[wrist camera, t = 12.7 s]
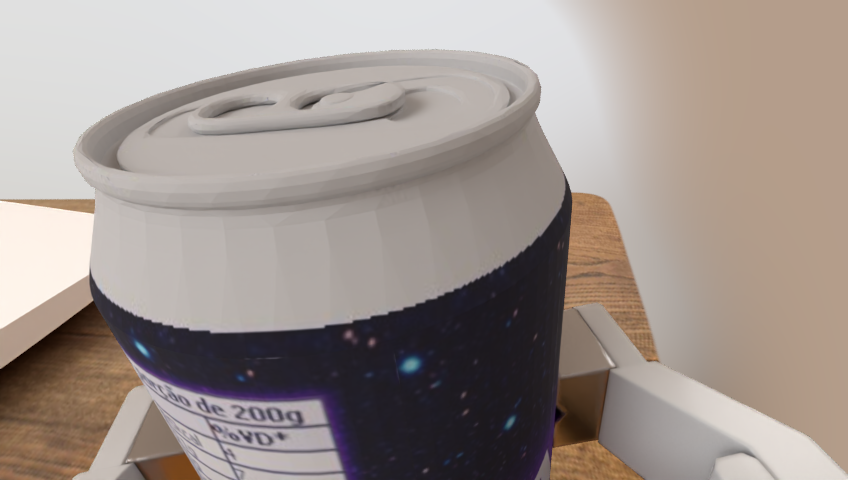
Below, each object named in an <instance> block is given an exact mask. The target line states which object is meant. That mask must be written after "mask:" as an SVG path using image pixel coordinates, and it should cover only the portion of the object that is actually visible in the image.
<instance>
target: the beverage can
mask: <svg viewBox="0 0 848 480" xmlns="http://www.w3.org/2000/svg"><path fill="white" fill-rule="evenodd" d="M540 94H541V86H540V83H539V79H538V77H537V74H536V73H534V72H533V70H531V69H530V68H529V67H528V66H527V65H525V64H523V63H520V62H518V61H516V60H513V59H510V58H507V57H503V56H498V55H492V54H487V53H481V52H472V51H471V52H470V51H455V50H454V51H453V50H438V49H432V50H391V51H379V52H365V53H353V54H343V55H335V56H327V57H320V58H312V59H304V60H298V61H292V62H287V63H281V64H275V65H270V66H265V67H259V68H254V69H248V70H245V71H240V72H236V73H231V74H227V75H223V76H219V77H214V78H210V79H206V80H202V81H199V82H195V83H193V84H189V85H186V86H182V87H179V88H176V89H172V90H169V91H166V92H163V93H159V94H157V95H154V96H151V97H149V98H146V99H144V100H141V101H139V102H136V103H134V104H132V105H129V106H127V107H125V108H122V109H120V110H118V111H115V112H113V113H112V114H110V115H108V116H106V117H105V118H103V119H101V120H100V121H98V122H97V123H95V124H94V125H92V126H91V127H89V128H88V129H87V130H86V131H85V132H84V133H83V134H82V135H81V136H80V137H79V139H78V141H77V143H76V145H75V147H74V149H73V154H74V161H75V166H76V167H77V169H78V170H79V172H80V173H81V174H82V176H83V178H84V179H85V181H86V182H87V183H88V184H89V185H91V186H92V187H94V188H95V213H94V224H93V234H92V244H91V255H90V268H89V285H90V290H91V295H92V298H93V300H94V302H95V305H96V306H97V308H98V310H99V311H100V313H101V315H102V316H103V318H104V320H105V321H106V323H107V325H108V326H109V328H110V329H111V331H112V333H113V334H114V336H115V338H116V339H117V341H118V343H119V344H120V346H121V348H122V349H123V351H124V353H125V354H126V356H127V358H128V359H129V361H130V362H131V364H132V366H133V367H134V369H135V371H136V372H137V374H138V376H139V377H140V379H141V381H142V382H143V384H144V386H145V387H146V389H147V391H148V392H149V394H150V395H151V397H152V399H153V400H154V402H155V404H156V405H157V407H158V409H159V410H160V412H161V414H162V415H163V417H164V419H165V420H166V422H167V424H168V425H169V427H170V428H171V430H172V432H173V433H174V435H175V437H176V438H177V440H178V442H179V443H180V445H181V447H182V448H183V450H184V452H185V453H186V455H187V457H188V458H189V460H190V461H191V463H192V465H193V466H194V468H195V470H196V471H197V473H198V475H199V476H200V478H201V480H550V469H551V457H552V444H553V432H554V420H555V408H556V396H557V383H558V371H559V359H560V347H561V335H562V322H563V310H564V298H565V286H566V274H567V261H568V249H569V237H570V225H571V213H572V195H571V190H570V187H569V184H568V181H567V179H566V176H565V174H564V172H563V170H562V168H561V166H560V164H559V162H558V160H557V158H556V156H555V154H554V153H553V151H552V148H551V147H550V145H549V143H548V141H547V139H546V137H545V135H544V133H543V131H542V129H541V126H540V124H539V122H538V119H537V117H536V114H535V111H536V109H537V108H538V105H539V103H540Z"/></svg>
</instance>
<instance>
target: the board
mask: <svg viewBox="0 0 848 480" xmlns="http://www.w3.org/2000/svg"><path fill="white" fill-rule="evenodd" d="M93 224H94V214H91V213H84V212H76V211H69V210H62V209H55V208H48V207H41V206H33V205H26V204H19V203H12V202H5V201H0V369H1V368H2V367H4V366H5V365H7V364H8V363H9V362H11V361H12V360H13V359H15V358H16V357H18V356H19V355H20V354H22V353H23V352H25V351H26V350H27V349H29V348H30V347H31V346H33V345H34V344H36V343H37V342H38V341H40V340H41V339H42V338H44V337H45V336H46V335H48V334H49V333H51V332H52V331H53V330H55V329H56V328H57V327H59V326H60V325H61V324H63V323H64V322H65V321H67V320H68V319H69V318H71V317H72V316H73V315H75V314H76V313H77V312H79V311H80V310H81V309H83V308H84V307H85V306H87V305H88V304H89V303H91V302H92V301H93V298H92V295H91V290H90V285H89V268H90V255H91V244H92V234H93Z"/></svg>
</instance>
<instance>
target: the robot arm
mask: <svg viewBox="0 0 848 480" xmlns="http://www.w3.org/2000/svg"><path fill="white" fill-rule="evenodd" d="M594 440H598V442H599V443H600V444H601V445H602V446H604V447H605V448H606V449H607V450H609V451H610V452H611V453H612V454H614V455H615V456H616V457H617V458H619V459H620V460H621V461H622V462H624V463H625V464H626V465H627V466H629V467H630V468H631V469H632V470H634V471H635V472H636V473H637V474H638V475H640V476H641V477H642V478H643V479H645V480H848V474H847V473H846V472H845V471H844V470H843V469H842V468H841V467H839V465H837V463H836V462H834V460H833V459H832V458H830V457H829V455H828V454H827V453H826V452H825V451H823V449H822V448H821V447H820V446H819V445H818V444H817V443H816V442H815V441H814V440H813V439H812V438H811V437H809V436H808V435H805V434H804V433H802V432H800V431H798V430H795V429H794V428H791V427H789V426H787V425H785V424H783V423H781V422H779V421H777V420H775V419H773V418H771V417H769V416H767V415H765V414H763V413H761V412H759V411H757V410H755V409H753V408H751V407H749V406H746V405H745V404H742V403H741V402H738V401H736V400H734V399H732V398H730V397H728V396H726V395H724V394H722V393H720V392H718V391H716V390H714V389H712V388H710V387H708V386H706V385H704V384H701V383H700V382H697V381H695V380H693V379H691V378H689V377H687V376H685V375H683V374H681V373H679V372H677V371H675V370H673V369H671V368H669V367H667V366H665V365H663V364H661V363H659V362H657V361H652V362H647V361H646V360H645V358H644V357H643V356H642V355H641V353H640V352H639V351H638V349H637V348H636V347H635V346H634V344H633V343H632V342H631V341H630V339H629V338H628V337H627V336H626V334H625V333H624V332H623V331H622V329H621V328H620V327H619V326H618V324H617V323H616V322H615V320H614V319H613V318H612V317H611V315H610V314H609V313H608V312H607V310H606V309H605V308H604V307H603V305H601V304H599V303H592V304H587V305H582V306H576V307H572V308H568V309H564V310H563V322H562V335H561V347H560V359H559V371H558V383H557V396H556V408H555V420H554V432H553V444H552V447H553V448H554V447H560V446H566V445H571V444H577V443H582V442H588V441H594ZM72 480H201V478H200V476H199V475H198V473H197V471H196V470H195V468H194V466H193V465H192V463H191V461H190V460H189V458H188V457H187V455H186V453H185V452H184V450H183V448H182V447H181V445H180V443H179V442H178V440H177V438H176V437H175V435H174V433H173V432H172V430H171V428H170V427H169V425H168V424H167V422H166V420H165V419H164V417H163V415H162V414H161V412H160V410H159V409H158V407H157V405H156V404H155V402H154V400H153V399H152V397H151V395H150V394H149V392H148V391H147V389H146V387H145V386H144V385H142V386H136V387H135V388H134V389H133V390H131V391H130V392H129V393H128V395H127V397H126V399H125V401H124V403H123V405H122V407H121V409H120V411H119V413H118V414H117V416H116V418H115V420H114V422H113V424H112V426H111V428H110V430H109V432H108V434H107V436H106V438H105V440H104V442H103V444H102V446H101V448H100V450H99V452H98V454H97V456H96V457H95V459H94V461H93V463H92V465H91V467H90V469H89V471H88V472H83V473H79V474H77V475H76V476H75V477H74V478H73V479H72Z"/></svg>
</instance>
